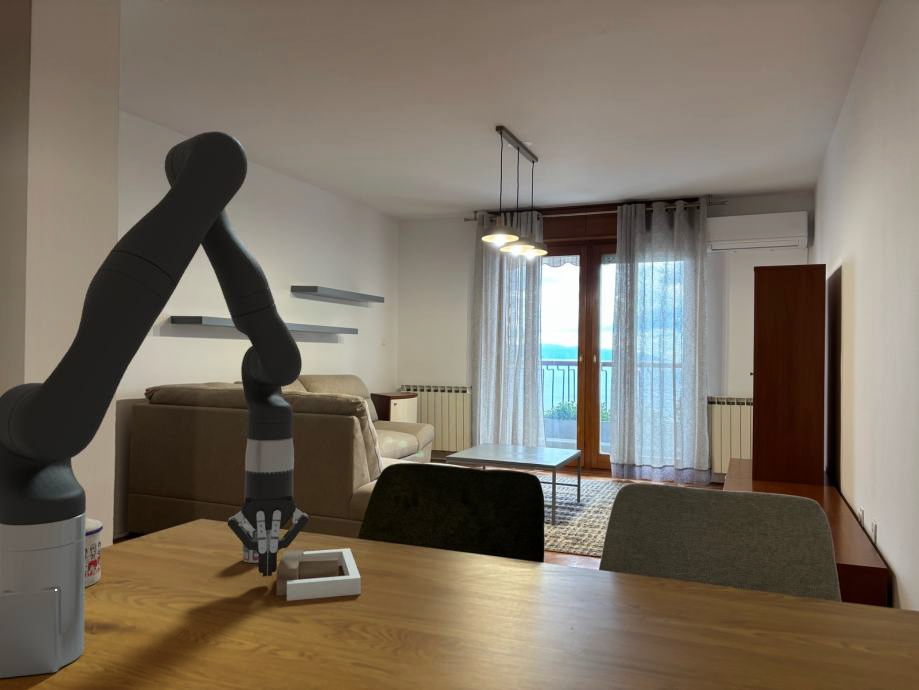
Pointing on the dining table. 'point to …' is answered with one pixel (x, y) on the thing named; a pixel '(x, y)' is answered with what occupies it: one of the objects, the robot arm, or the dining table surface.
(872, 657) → the dining table surface
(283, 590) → the t block
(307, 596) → the pocket
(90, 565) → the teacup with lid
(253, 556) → the pill bottle
